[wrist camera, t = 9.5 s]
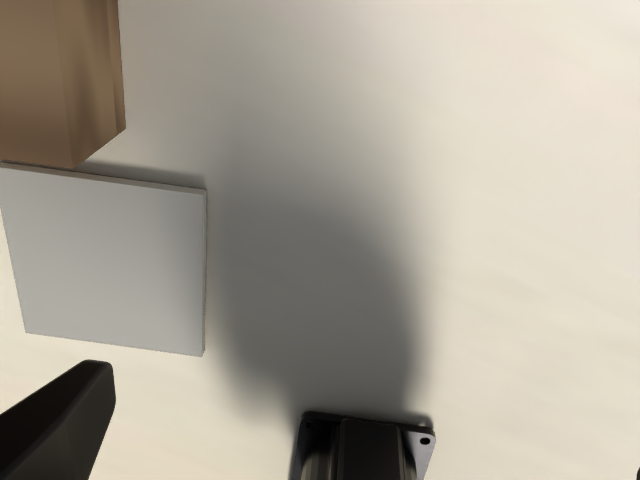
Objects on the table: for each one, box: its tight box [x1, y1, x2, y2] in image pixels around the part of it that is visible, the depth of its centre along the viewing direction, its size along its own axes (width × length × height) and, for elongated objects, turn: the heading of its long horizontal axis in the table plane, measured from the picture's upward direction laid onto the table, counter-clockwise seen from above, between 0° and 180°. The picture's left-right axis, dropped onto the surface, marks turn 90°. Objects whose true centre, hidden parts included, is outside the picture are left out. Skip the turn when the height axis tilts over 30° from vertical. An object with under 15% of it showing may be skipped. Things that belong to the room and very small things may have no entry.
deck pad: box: [0, 162, 207, 357], centre depth 22 cm, size 8×8×1 cm
